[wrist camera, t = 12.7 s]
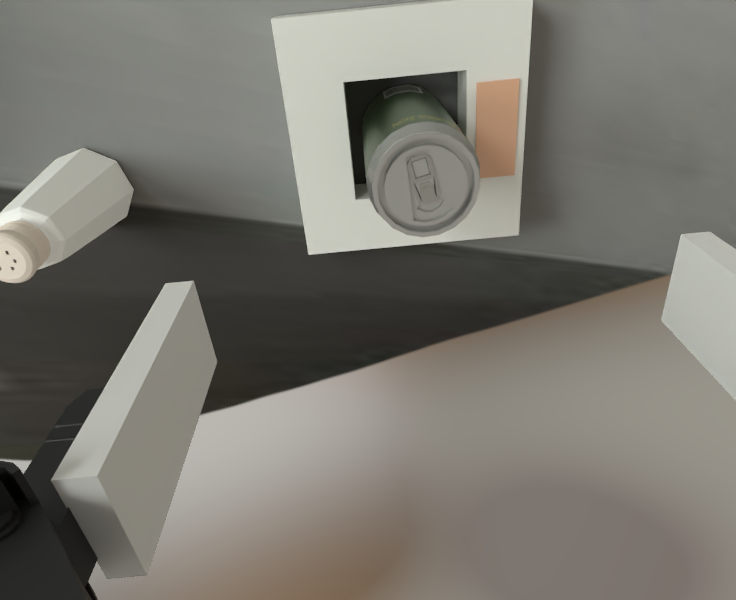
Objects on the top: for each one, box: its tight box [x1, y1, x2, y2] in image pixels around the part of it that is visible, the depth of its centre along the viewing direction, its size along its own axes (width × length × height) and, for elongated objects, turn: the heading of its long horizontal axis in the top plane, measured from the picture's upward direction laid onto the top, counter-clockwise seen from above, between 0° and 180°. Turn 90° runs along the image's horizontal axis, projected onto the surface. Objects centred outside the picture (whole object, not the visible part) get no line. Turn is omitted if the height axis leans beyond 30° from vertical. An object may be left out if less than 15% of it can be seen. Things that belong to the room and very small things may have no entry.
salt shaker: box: [0, 148, 134, 283], centre depth 31 cm, size 5×5×11 cm
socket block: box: [271, 0, 533, 255], centre depth 33 cm, size 14×14×3 cm
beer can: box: [362, 84, 480, 237], centre depth 30 cm, size 5×5×12 cm
